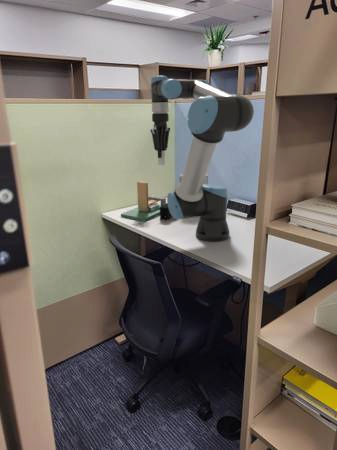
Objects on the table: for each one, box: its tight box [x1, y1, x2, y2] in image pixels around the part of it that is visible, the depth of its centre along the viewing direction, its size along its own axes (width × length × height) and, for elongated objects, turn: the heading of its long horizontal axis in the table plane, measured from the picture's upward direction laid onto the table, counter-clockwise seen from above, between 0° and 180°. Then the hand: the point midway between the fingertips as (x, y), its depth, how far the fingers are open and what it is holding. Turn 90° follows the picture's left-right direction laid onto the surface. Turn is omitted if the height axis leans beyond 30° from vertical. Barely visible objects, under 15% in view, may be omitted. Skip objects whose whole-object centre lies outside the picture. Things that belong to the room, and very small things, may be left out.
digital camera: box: [159, 202, 173, 222], centre depth 182 cm, size 10×5×7 cm, turn 153°
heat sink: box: [149, 202, 160, 212], centre depth 193 cm, size 8×8×3 cm
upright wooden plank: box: [136, 181, 161, 212], centre depth 191 cm, size 15×6×16 cm, turn 147°
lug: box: [148, 195, 167, 206], centre depth 198 cm, size 3×10×5 cm, turn 57°
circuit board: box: [120, 204, 161, 222], centre depth 191 cm, size 25×16×2 cm, turn 147°
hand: (161, 164), depth 166 cm, fingers closed
